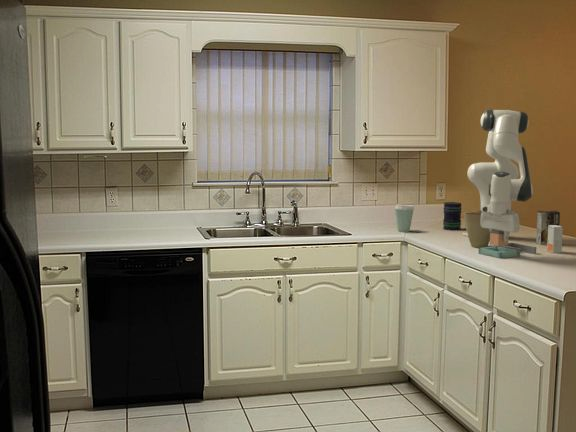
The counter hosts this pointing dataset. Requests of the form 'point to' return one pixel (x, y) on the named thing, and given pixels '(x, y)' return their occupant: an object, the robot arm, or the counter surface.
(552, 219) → the coffee box
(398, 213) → the disposable coffee cup
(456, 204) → the storage jar
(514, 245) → the bay
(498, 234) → the orange-topped grey box
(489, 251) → the tray
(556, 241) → the skincare box
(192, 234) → the counter surface
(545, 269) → the counter surface
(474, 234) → the plant pot
